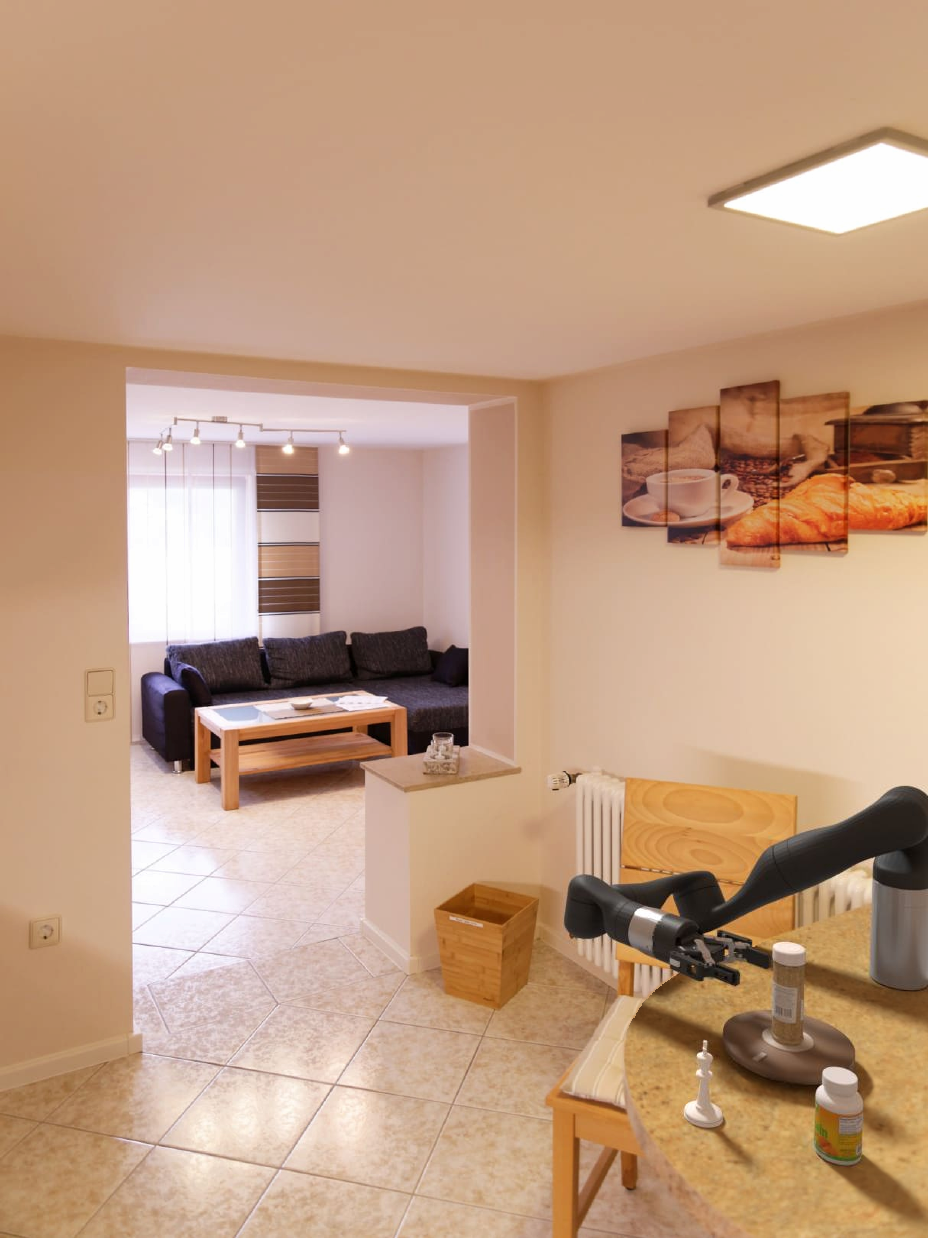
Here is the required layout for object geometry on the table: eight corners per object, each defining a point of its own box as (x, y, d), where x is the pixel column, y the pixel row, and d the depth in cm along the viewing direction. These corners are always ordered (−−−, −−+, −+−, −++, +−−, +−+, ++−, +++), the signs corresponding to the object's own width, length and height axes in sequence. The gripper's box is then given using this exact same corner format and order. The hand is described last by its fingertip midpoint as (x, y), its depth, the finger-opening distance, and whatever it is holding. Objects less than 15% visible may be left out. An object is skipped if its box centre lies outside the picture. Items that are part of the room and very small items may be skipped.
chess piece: (724, 1110, 122) (726, 1035, 121) (721, 1131, 117) (723, 1054, 116) (685, 1102, 123) (687, 1029, 123) (681, 1123, 119) (683, 1047, 118)
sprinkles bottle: (810, 1040, 133) (813, 949, 132) (790, 1049, 131) (792, 956, 130) (783, 1027, 137) (786, 938, 136) (763, 1036, 134) (765, 945, 134)
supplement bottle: (805, 1140, 115) (808, 1064, 115) (847, 1138, 116) (850, 1062, 115) (826, 1168, 110) (829, 1089, 109) (870, 1166, 110) (872, 1087, 110)
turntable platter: (764, 1008, 147) (764, 997, 146) (877, 1053, 133) (878, 1041, 133) (697, 1046, 135) (698, 1035, 135) (815, 1100, 121) (815, 1088, 121)
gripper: (689, 947, 154) (779, 981, 142) (635, 971, 144) (726, 1010, 132) (690, 902, 153) (780, 933, 141) (636, 924, 144) (728, 959, 132)
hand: (754, 970), depth 137 cm, fingers open, 8 cm apart
